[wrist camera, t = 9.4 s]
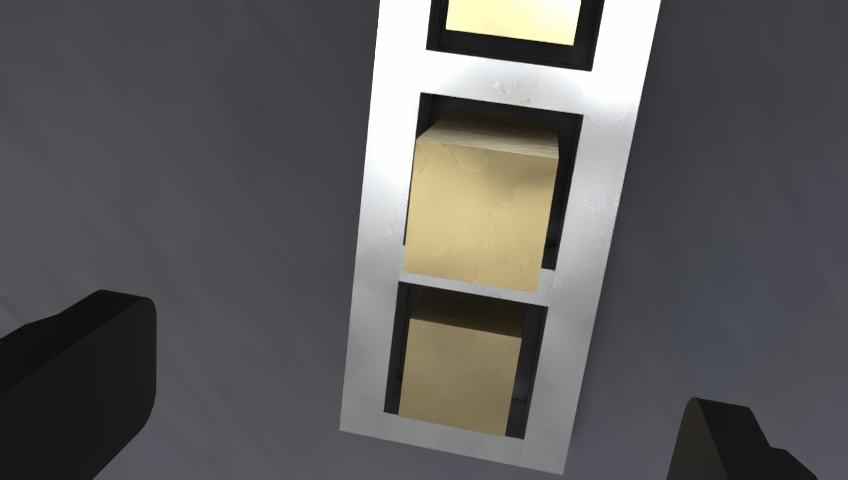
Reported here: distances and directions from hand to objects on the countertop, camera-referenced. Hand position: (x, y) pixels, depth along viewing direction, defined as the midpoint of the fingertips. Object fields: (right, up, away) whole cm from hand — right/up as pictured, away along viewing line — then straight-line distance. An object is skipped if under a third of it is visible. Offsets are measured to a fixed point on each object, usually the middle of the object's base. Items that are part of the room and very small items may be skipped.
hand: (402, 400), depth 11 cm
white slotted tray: (+3, +5, +18) cm, 19 cm away
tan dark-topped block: (+3, +5, +18) cm, 19 cm away
